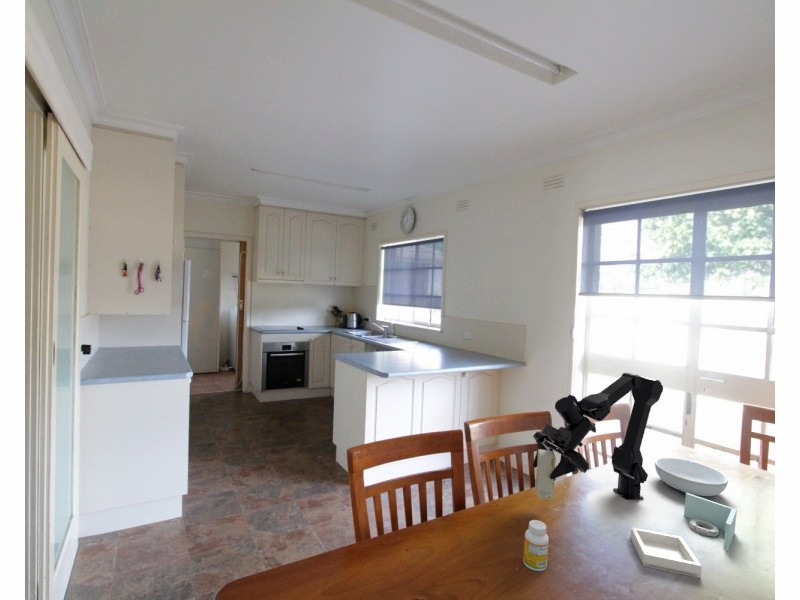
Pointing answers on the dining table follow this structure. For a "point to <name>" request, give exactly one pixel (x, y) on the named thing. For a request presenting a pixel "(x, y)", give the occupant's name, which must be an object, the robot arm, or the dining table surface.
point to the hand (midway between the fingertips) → (541, 472)
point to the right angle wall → (710, 517)
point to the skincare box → (545, 474)
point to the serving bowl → (691, 476)
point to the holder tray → (665, 552)
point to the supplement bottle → (536, 546)
